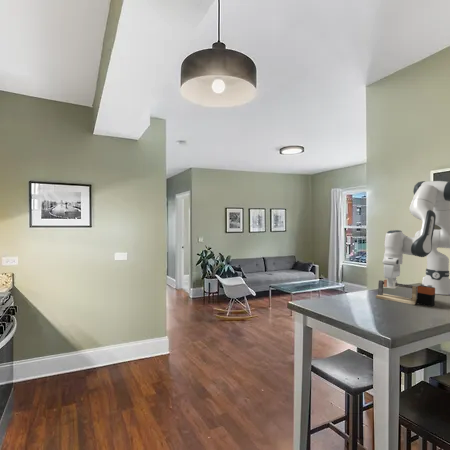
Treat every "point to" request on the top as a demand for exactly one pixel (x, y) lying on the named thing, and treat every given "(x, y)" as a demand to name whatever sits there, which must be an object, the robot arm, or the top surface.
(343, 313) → the top surface
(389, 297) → the rod stand
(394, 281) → the marker sleeve
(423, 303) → the battery
